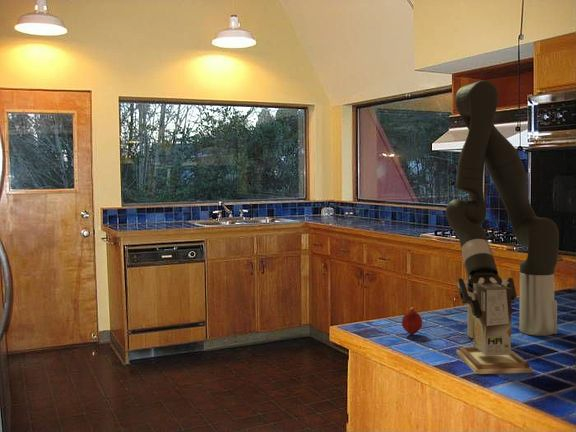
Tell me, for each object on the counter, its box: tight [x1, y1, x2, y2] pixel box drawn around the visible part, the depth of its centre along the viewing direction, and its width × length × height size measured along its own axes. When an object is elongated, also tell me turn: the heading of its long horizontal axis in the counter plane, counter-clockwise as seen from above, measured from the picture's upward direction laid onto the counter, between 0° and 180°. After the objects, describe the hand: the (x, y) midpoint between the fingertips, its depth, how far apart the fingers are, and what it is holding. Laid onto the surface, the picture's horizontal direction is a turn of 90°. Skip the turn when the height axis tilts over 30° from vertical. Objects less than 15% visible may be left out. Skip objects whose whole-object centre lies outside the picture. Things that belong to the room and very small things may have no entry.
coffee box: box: [472, 283, 512, 356], centre depth 149 cm, size 9×6×16 cm
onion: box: [401, 306, 423, 336], centre depth 176 cm, size 6×6×8 cm
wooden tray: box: [456, 345, 533, 375], centre depth 150 cm, size 13×16×2 cm
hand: (493, 316), depth 148 cm, fingers closed on coffee box, 6 cm apart
